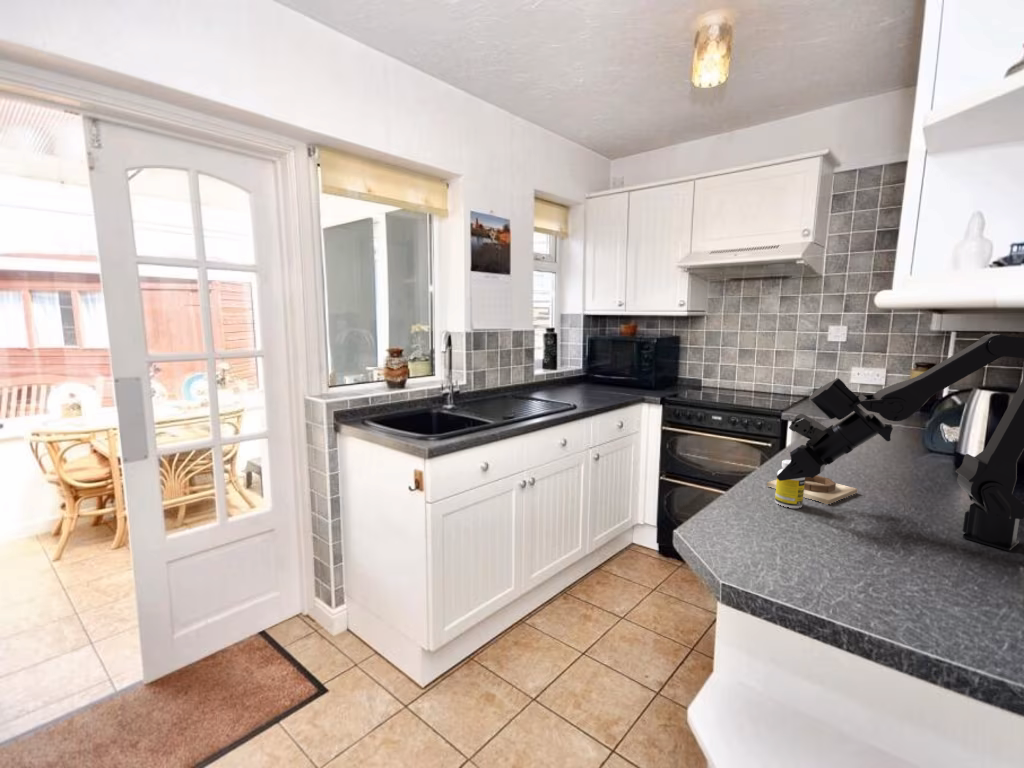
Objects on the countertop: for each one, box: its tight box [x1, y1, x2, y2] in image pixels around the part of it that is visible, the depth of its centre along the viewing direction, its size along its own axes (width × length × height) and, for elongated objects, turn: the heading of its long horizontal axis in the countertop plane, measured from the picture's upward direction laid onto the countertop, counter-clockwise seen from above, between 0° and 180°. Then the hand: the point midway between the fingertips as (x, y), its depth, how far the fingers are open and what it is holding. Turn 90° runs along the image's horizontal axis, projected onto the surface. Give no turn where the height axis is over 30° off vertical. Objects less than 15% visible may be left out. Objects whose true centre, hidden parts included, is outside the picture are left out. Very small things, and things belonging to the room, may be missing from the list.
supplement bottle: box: [774, 459, 805, 509], centre depth 109 cm, size 5×5×10 cm
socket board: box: [766, 474, 858, 505], centre depth 118 cm, size 14×14×3 cm
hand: (784, 474), depth 109 cm, fingers open, 8 cm apart
